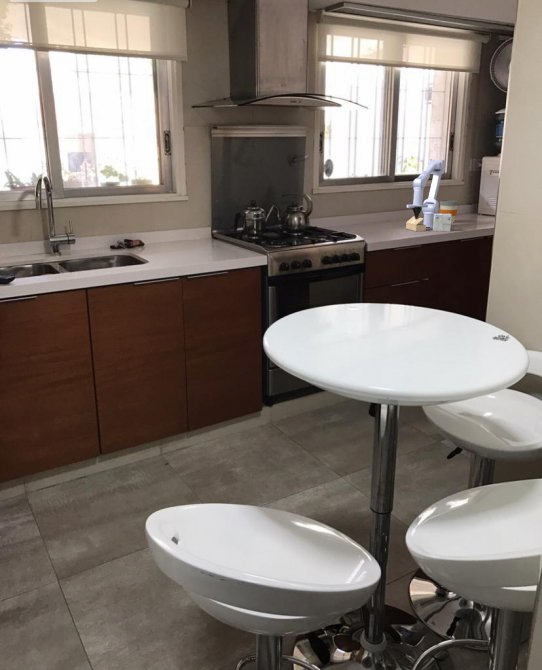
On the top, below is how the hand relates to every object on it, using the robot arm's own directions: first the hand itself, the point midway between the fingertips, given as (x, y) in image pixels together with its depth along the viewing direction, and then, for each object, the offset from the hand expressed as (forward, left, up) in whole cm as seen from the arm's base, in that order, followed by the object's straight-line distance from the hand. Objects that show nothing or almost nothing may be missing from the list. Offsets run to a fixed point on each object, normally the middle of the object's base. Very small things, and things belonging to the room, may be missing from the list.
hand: (416, 219), depth 386 cm
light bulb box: (-3, +16, -8) cm, 18 cm away
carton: (0, 0, -7) cm, 7 cm away
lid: (0, -1, -1) cm, 2 cm away
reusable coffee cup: (-46, +18, -7) cm, 50 cm away
